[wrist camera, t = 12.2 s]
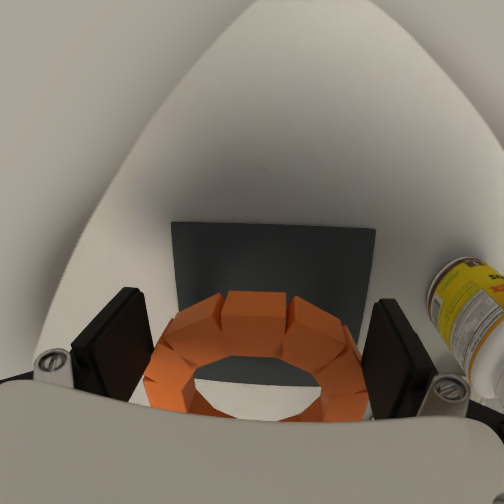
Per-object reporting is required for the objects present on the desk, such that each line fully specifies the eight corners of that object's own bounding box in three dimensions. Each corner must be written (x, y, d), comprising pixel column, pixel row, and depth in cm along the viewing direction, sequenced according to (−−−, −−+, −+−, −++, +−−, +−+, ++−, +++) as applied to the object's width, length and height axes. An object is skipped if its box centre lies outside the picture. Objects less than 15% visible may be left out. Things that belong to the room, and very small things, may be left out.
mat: (172, 221, 18) (170, 223, 18) (374, 228, 17) (376, 230, 17) (189, 375, 23) (188, 377, 22) (346, 383, 21) (347, 386, 21)
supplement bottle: (498, 282, 17) (580, 362, 8) (449, 337, 19) (509, 436, 10) (462, 236, 17) (564, 313, 7) (408, 299, 19) (474, 411, 9)
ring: (141, 285, 12) (122, 306, 11) (379, 292, 12) (392, 316, 10) (175, 430, 16) (167, 453, 14) (341, 439, 15) (344, 464, 13)
